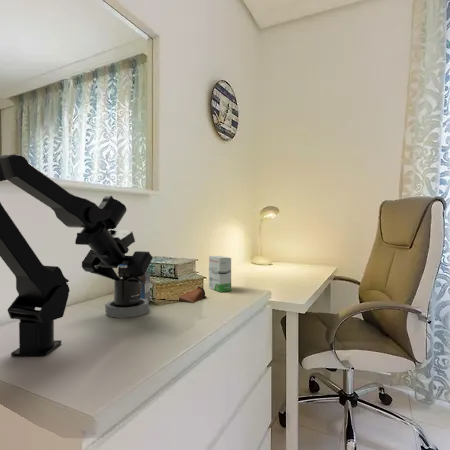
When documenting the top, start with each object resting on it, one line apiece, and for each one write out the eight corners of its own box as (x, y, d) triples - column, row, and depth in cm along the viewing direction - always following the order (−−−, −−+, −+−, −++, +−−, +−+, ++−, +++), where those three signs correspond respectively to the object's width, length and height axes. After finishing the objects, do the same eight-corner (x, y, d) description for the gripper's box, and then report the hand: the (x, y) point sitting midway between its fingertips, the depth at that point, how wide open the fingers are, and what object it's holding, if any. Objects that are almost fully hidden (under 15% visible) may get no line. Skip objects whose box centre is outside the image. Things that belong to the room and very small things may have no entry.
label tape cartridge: (150, 300, 102) (150, 261, 102) (144, 304, 98) (144, 262, 98) (125, 299, 104) (124, 260, 104) (118, 302, 100) (117, 261, 100)
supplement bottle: (138, 313, 87) (138, 268, 86) (111, 314, 86) (111, 268, 86) (141, 306, 94) (142, 264, 93) (117, 307, 93) (117, 264, 93)
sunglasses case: (142, 298, 104) (148, 278, 108) (152, 305, 110) (157, 285, 113) (195, 303, 99) (199, 282, 102) (202, 309, 105) (206, 289, 108)
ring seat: (142, 317, 85) (142, 308, 85) (99, 317, 85) (99, 308, 84) (152, 306, 96) (152, 297, 96) (113, 306, 96) (113, 298, 96)
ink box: (232, 291, 116) (232, 257, 116) (219, 292, 113) (219, 258, 113) (219, 286, 123) (219, 254, 123) (208, 288, 121) (208, 255, 121)
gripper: (148, 219, 83) (170, 258, 93) (89, 219, 89) (116, 256, 100) (128, 254, 75) (155, 292, 86) (66, 251, 82) (98, 287, 92)
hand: (130, 280), depth 91 cm, fingers open, 9 cm apart
